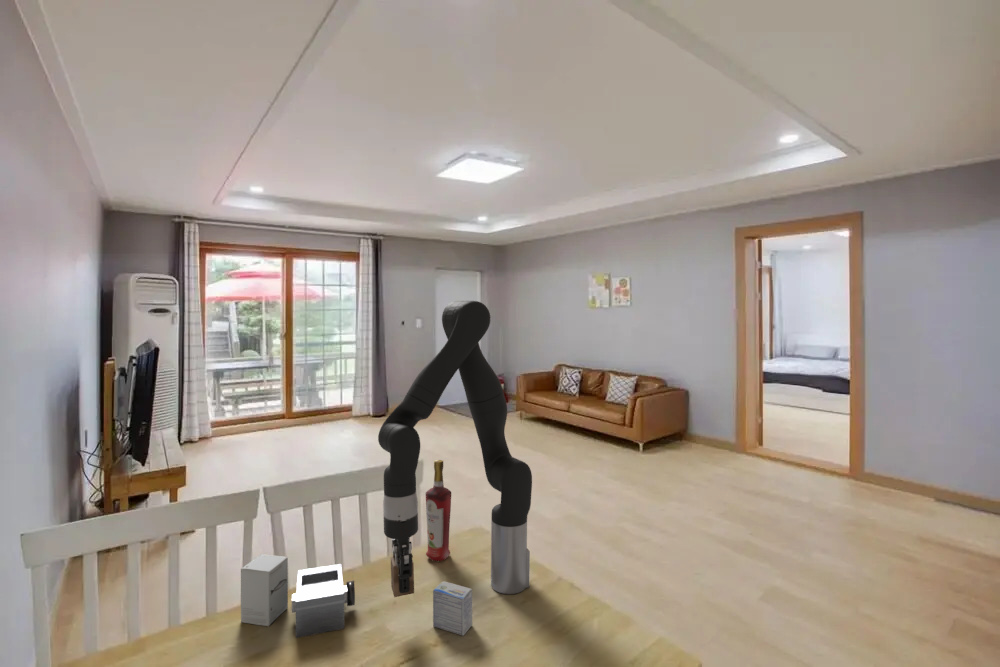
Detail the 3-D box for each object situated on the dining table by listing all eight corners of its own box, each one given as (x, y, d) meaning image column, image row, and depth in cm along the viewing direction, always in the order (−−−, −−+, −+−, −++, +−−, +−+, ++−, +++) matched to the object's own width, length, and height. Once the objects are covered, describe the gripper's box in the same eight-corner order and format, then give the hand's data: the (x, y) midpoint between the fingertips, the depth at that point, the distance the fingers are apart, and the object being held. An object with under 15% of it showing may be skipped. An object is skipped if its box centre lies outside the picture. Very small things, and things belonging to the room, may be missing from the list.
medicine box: (472, 625, 115) (473, 588, 114) (463, 637, 111) (463, 598, 110) (442, 616, 118) (443, 580, 118) (432, 627, 114) (432, 589, 114)
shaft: (353, 597, 123) (353, 576, 123) (354, 609, 118) (354, 587, 118) (292, 608, 118) (292, 586, 118) (291, 621, 113) (291, 598, 113)
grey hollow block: (341, 595, 126) (341, 563, 126) (344, 628, 113) (344, 593, 113) (298, 602, 123) (297, 570, 123) (295, 637, 110) (295, 601, 109)
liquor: (419, 559, 145) (420, 462, 143) (436, 549, 151) (436, 456, 149) (440, 566, 141) (440, 466, 139) (456, 555, 147) (456, 460, 146)
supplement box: (269, 627, 113) (268, 571, 113) (239, 622, 115) (239, 568, 114) (289, 608, 121) (288, 556, 120) (261, 604, 122) (260, 552, 121)
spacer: (410, 582, 117) (410, 553, 117) (414, 593, 113) (413, 562, 112) (391, 586, 116) (390, 557, 115) (394, 597, 111) (393, 566, 111)
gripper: (379, 502, 118) (381, 573, 120) (387, 527, 105) (390, 607, 106) (411, 497, 121) (413, 567, 122) (423, 521, 108) (425, 599, 109)
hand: (402, 585), depth 114 cm, fingers closed on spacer, 4 cm apart
